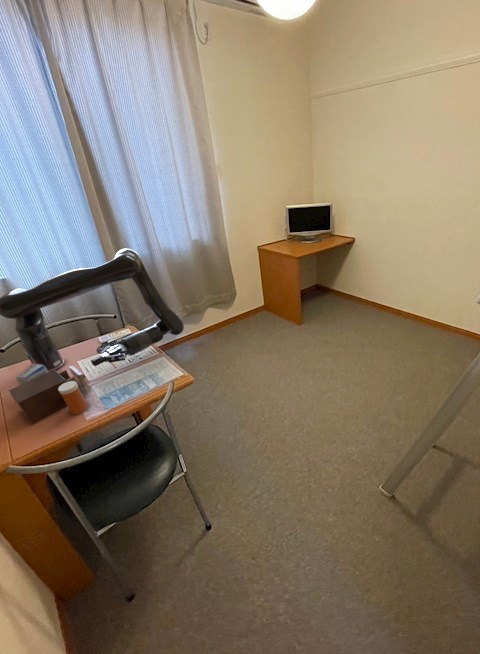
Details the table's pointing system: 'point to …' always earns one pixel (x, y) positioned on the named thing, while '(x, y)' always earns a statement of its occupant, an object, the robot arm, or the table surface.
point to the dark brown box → (40, 396)
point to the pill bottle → (73, 397)
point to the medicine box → (32, 373)
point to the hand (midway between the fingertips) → (92, 363)
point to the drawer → (75, 378)
